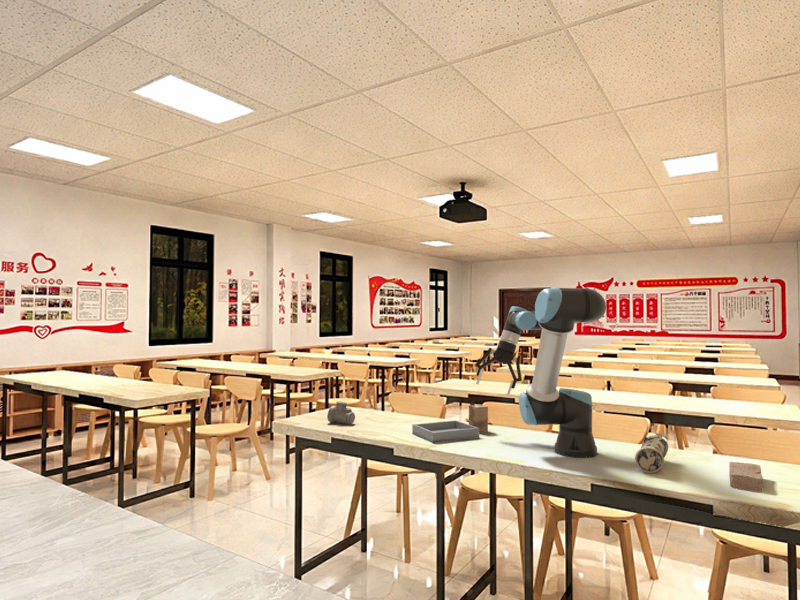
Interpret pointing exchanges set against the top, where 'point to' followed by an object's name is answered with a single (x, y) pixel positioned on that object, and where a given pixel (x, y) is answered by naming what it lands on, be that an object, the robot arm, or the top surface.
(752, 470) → the brick
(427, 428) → the tray
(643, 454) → the pencil case
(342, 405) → the pipe fitting
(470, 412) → the bored block
